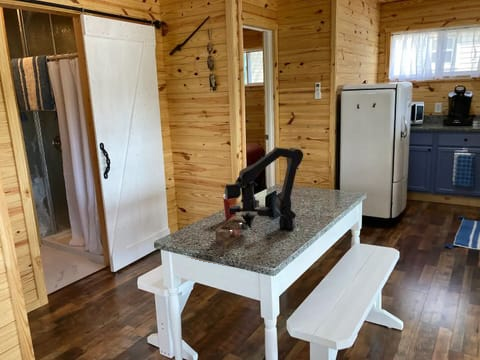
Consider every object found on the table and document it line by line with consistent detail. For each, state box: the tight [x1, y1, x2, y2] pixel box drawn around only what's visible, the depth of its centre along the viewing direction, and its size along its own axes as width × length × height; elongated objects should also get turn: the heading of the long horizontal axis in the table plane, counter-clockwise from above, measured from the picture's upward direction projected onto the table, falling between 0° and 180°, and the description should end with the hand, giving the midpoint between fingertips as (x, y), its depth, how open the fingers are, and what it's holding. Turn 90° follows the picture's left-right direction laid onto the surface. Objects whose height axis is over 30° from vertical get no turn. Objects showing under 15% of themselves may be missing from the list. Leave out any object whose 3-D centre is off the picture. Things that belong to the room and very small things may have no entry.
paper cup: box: [222, 193, 238, 222], centre depth 206 cm, size 8×8×14 cm
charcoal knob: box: [239, 221, 250, 231], centre depth 188 cm, size 8×4×4 cm, turn 66°
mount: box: [215, 216, 246, 246], centre depth 185 cm, size 6×20×6 cm, turn 156°
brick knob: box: [223, 229, 241, 239], centre depth 179 cm, size 8×4×4 cm, turn 66°
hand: (250, 228), depth 186 cm, fingers closed
